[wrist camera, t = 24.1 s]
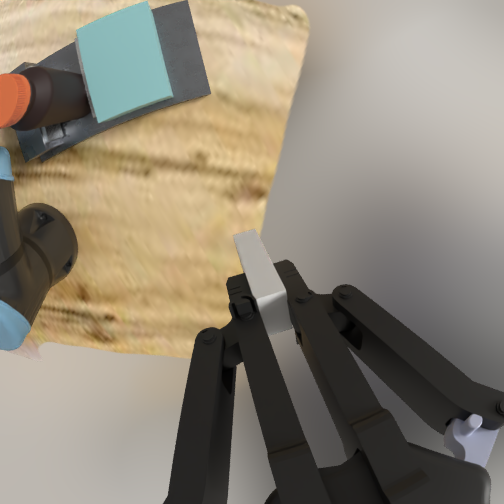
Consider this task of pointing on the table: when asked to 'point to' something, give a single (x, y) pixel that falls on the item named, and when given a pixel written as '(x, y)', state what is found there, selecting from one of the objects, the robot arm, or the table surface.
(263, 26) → the table surface
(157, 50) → the block
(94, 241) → the table surface
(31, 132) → the vise base
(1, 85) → the vinegar
